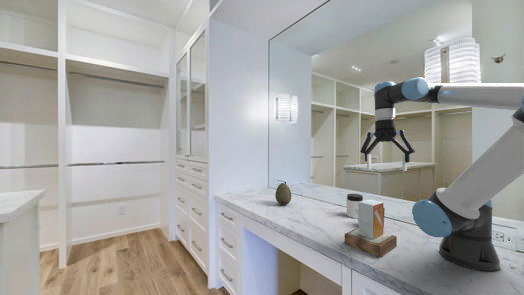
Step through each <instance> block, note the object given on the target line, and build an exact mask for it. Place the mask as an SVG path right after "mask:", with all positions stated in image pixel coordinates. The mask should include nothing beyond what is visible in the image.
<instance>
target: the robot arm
mask: <svg viewBox="0 0 524 295" xmlns="http://www.w3.org/2000/svg"><path fill="white" fill-rule="evenodd" d="M373 96H374V120H375V121H374V132H371V131H369V132H367V134H366V138H365V141H364V143H363V144H362V147H361V149H360V150H359V151H360V153H361V154H364V161H365V162H366V168H367V170H371V169H372V153H371V152H372V151H373V150H374V148H376V146H377V145H378V144H379V143H381V142H382V143H385V142H387V143H388V142H389V143H390V142H392V143H393V144H394V145H395V146H396V147H397V148H398V149H399V150H400V151H401V152H402V153H403V154H402V155H401V156H402V157H401V158H402V159H401V160H402V162H401V164H402V172H406V171H408V168H407V166H408V165H407V163H410V162H411V161H410V155H411V154H414V153H416V150H415V148H414V147H413V145H412V143H411V142H410V141H409V139H408V137H407V135H406V131H405V130H404V129H400V130H396V129H397V128H396V125H397V123H396V104H401V103H404V102H414V103H424V104H425V103H427V104H434V105H435V104H437V105H438V104H439V105H452V106H462V107H463V106H464V107H471V108H472V107H474V108H485V109H496V110H497V109H498V110H508V111H515V112H514V113H513V114H512V115H511V116H510V117H511V119H512V120H511V121H512V125H511V126H510V127H509V128H508V129H507V130H506V131H505V132H504V133H503V134H502V135H501V136H500V137H498V138H497V140H495V142H493V144H491V145H490V146H489V147H488V148H487V149H486V150H485V151H484V152H483V153H482V154H481V155H480V156H479V157H478V158H477V159H475V161H473V163H471V165H469V166H468V167H467V168H466V169H465V170H464V171H463V172H462V173H461V174H460V175H459V176H458V177H457V178H456V179H455V180H454V181H453V182H452V183H451V184H449V185H448V187H438V188H437V189H436V190H434V192H433V193H432V194H431V195H430V196H429V197H427V198H426V199H420V200H419V201H416V202H415V203H414V204H413V206H412V209H411V214H412V218H413V221H414V224H416V226H417V227H418V229H420V231H422V232H423V233H424V234H426V235H428V236H431V237H434V238H442V239H441V241H440V243H439V246H438V247H439V249H438V250H439V254H440V255H441V256H442V257H443V258H445V259H446V260H448V261H450V262H452V263H455V264H456V265H459V266H463V267H465V268H470V269H473V270H477V271H485V272H495V271H499V270H500V269H501V261H500V260H501V259H500V258H499V255H498V252H497V250H496V248H495V246H494V244H493V239H492V237H493V206H492V204H493V203H492V199H493V198H494V197H495V196H497V195H498V194H499V193H501V192H502V191H503V190H505V189H506V188H507V187H508V186H510V185H511V184H512V183H513V182H515V181H516V180H517V179H519V178H520V177H521V176H523V174H524V83H442V82H441V83H438V82H437V83H435V82H433V83H432V82H428V81H427V80H426V79H425V78H424V77H421V76H420V77H415V78H410V79H407V80H405V81H402V82H398V83H396V84H395V82H393V81H383V82H379V83H377V84H375V86H374V94H373ZM397 135H398V136H400V138H401V140H402V142H403V144H404V145H405V146H406V147H405V146H404V145H403V144H402V143H401V142H400V141H399V140H398V139H397V138H396V136H397ZM373 137H375V139H374V140H373V142H372V143H371V141H372V138H373ZM370 143H371V144H370ZM370 153H371V154H370Z"/></svg>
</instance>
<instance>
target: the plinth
mask: <svg viewBox="0 0 524 295" xmlns="http://www.w3.org/2000/svg"><path fill="white" fill-rule="evenodd" d="M397 237H398V236H397V235H393V234H391V233H388V232H384V231H383V235H381V236H379V237H377V238H375V239H371V238H368V237H365V236H362V235H360V234H358V227H356V228H354V229H352V230H350V231H348V232H346V233H344V244H345V245H348V246H349V247H352V248H355V249H357V250H360V251H361V252H362V251H363V252H364V253H368V254H370V255H372V254H373V256H375V257H378V258H383V257H384V256H386V255H387V254H388V253H389V252H390V251H393V250H394V249H395V248H396V247H397V246H398V242H397V240H398V239H397Z"/></svg>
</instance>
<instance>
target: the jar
mask: <svg viewBox="0 0 524 295" xmlns="http://www.w3.org/2000/svg"><path fill="white" fill-rule="evenodd" d="M363 198H364V196H363V195H362V194H359V193H348V194H346V216H347V217H348V218H351V219H354V220H355V219H356V220H358V202H362V201H364V199H363Z"/></svg>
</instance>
